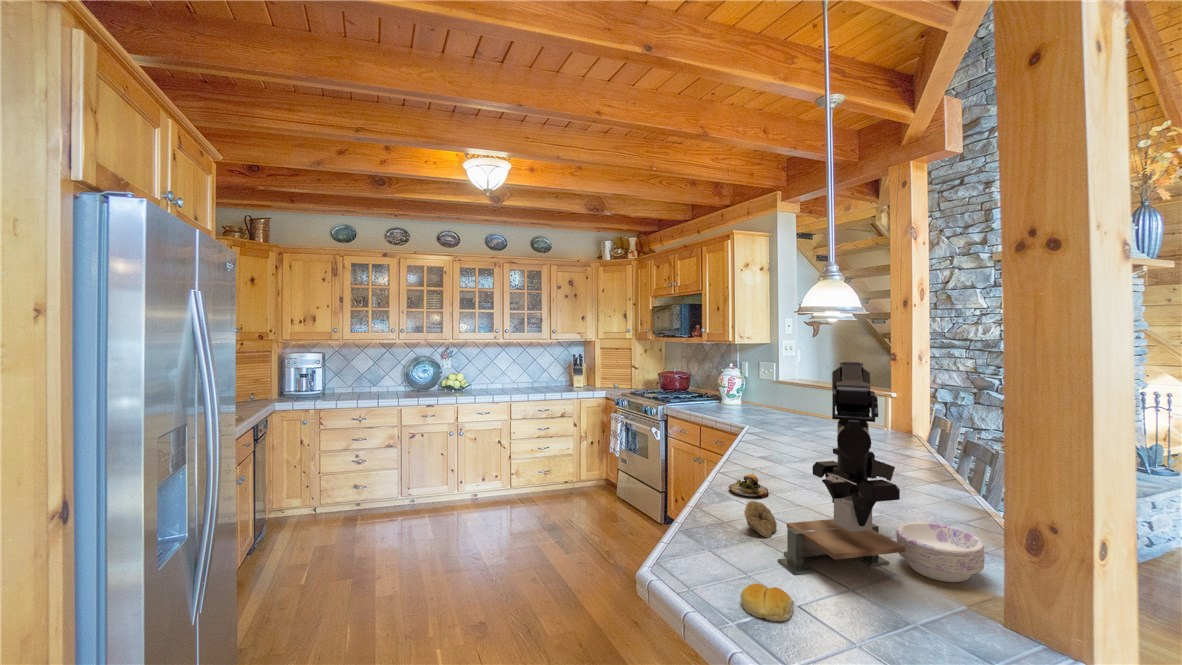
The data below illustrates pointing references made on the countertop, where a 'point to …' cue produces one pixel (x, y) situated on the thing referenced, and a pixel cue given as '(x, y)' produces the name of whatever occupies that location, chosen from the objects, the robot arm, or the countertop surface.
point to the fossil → (760, 518)
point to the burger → (749, 487)
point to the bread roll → (767, 602)
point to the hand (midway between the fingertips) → (852, 521)
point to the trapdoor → (842, 540)
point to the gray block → (849, 515)
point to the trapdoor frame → (795, 555)
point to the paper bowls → (941, 551)
